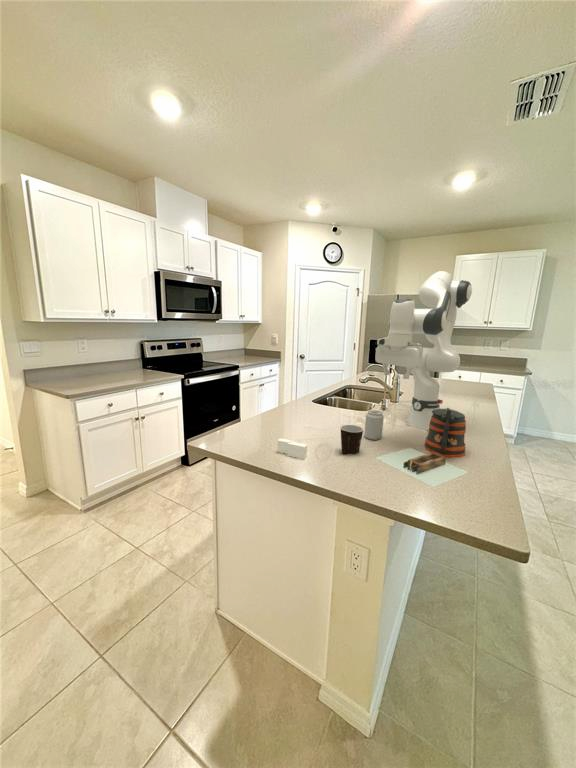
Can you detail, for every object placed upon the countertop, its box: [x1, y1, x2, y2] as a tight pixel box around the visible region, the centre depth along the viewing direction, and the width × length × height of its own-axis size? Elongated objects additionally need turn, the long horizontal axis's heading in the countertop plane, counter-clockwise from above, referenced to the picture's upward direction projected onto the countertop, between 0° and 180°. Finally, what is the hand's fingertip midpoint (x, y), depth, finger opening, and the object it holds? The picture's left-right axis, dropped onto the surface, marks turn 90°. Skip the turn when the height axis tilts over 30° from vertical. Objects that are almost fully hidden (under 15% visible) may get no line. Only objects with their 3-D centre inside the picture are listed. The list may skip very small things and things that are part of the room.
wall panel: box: [375, 447, 470, 488], centre depth 109 cm, size 20×24×1 cm
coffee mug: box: [339, 424, 364, 456], centre depth 117 cm, size 12×9×10 cm
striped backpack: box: [424, 407, 467, 459], centre depth 119 cm, size 19×15×20 cm
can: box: [363, 409, 385, 441], centre depth 135 cm, size 8×8×12 cm
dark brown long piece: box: [403, 452, 447, 474], centre depth 107 cm, size 16×5×2 cm, turn 121°
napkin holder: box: [277, 437, 308, 460], centre depth 116 cm, size 15×11×6 cm
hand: (396, 376), depth 122 cm, fingers open, 8 cm apart
